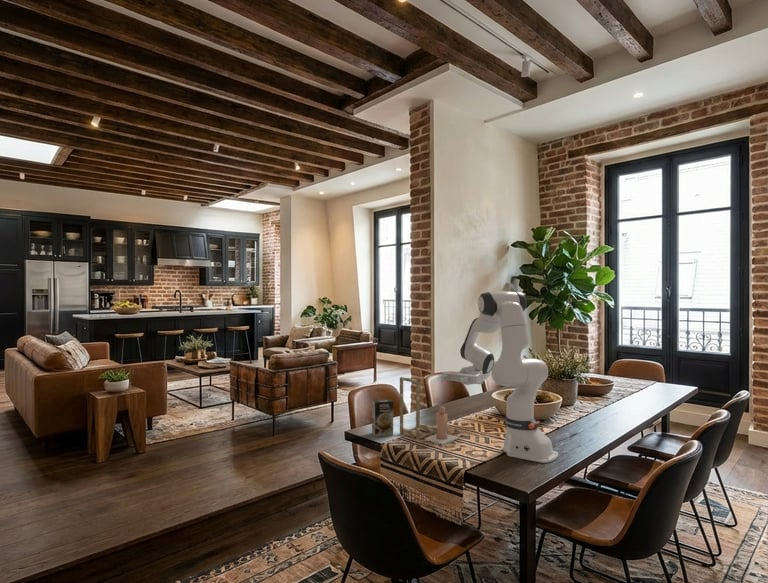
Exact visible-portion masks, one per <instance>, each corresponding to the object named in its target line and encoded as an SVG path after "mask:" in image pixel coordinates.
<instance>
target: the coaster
mask: <svg viewBox="0 0 768 583" xmlns="http://www.w3.org/2000/svg"><path fill="white" fill-rule="evenodd" d="M458 439H459V437H458V436H455V435H452V434H450V433H447V439H437V438H436V433H434V434H432V435H429V436H426V437H424V441H426V440H427V442H430V441H431V443H433V442H434V444H437V443H438V444H437V445H440V444H441V445H440V446H444V444H445V445H447V444H449V443H451V442H454V441H457V440H458Z"/></svg>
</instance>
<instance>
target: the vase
mask: <svg viewBox="0 0 768 583" xmlns="http://www.w3.org/2000/svg"><path fill="white" fill-rule="evenodd" d="M438 408H439V409H438V412H436V433H435V434H436V438H437V439H447V434H448V422H449V421H448V413H447V412H446V407H445V406H443V405H442V406H439V407H438Z"/></svg>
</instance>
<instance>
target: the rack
mask: <svg viewBox="0 0 768 583" xmlns="http://www.w3.org/2000/svg"><path fill="white" fill-rule="evenodd" d="M404 382H410V383H415V427H412V428H404ZM420 383H421V381H420V379H416V378H409V377H404V376H399V435H400V436H401V435H405V436H409V437H411V438H412V437H413V438H415V437H416V438H415V439H416V440H420V438H421V439H422V438H427V437H429V436H432V435H435V434H436V427H435V426H431V425H429V424H424V423H421V422H420V421H421V420H420V419H421V418H420V415H421V414H420V413H421V407H420V406H421V404H420V402H421V401H420V400H421V398H420V397H421V396H420V395H421V393H420V392H421V390H420V388H421V384H420ZM420 430H422V431H424V432H425V431H426V432H427V433H424V434H422V432H421V431H420Z"/></svg>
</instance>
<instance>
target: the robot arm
mask: <svg viewBox="0 0 768 583" xmlns="http://www.w3.org/2000/svg"><path fill="white" fill-rule="evenodd" d="M527 304H528V303H527V297H526V296H525V294H524V293H523V292H520V291H516V290H514V291H503V290H498V291H491V292H490V291H486V292H483V293H481V294H480V295H479V297H478V299H477V306H478V310H479V315H478V317H477V318H475V319H473V320H472V322H471V324H470V325H469V328H468V331H467V333H466V336H465V339H464V342H463V343H462V345H461V347H460V351H459V352H460V356H461V359H463V360H466V361H468V362H470V363H471V364H472V365H470V366H465V367H462V368H461V369H460V370H459V371H453V370H451V371H450V370H449V371H443V372H442V374H441V379H442V380H443V381H451V382H452V381H453V382H459V383H462V384H463V385H465V386H469V385H483V382H484V381H485V380H487V379H489V377H490V376H491V378H492V380H493V381H494V383H495V384H496V385H498V386H505V387H515V389H514V390H513V391H512V393H511V394H509V395H508V396H507V398H506V416H505V422H504V423H505V424H504V425H505V426H504V427H505V436H504V443H503V445H502V451H503V452H505V453H506V456H508V457H511V458H512V457H513V458H517V459H522V460H527V461H533V462H538V463H541V464H546V463H551V462H553V461H555V460H556V459H558V458H559V452H558V451H555V450H553V444H552V440H551V439H550V438H549V437H548V436H547V435H546V434H545V433H544V432H543V431H541V429H539V427H538V425H540V420H536V419H535V418H534V408H535V400H536V396H537V393H538V392H539V391H538V390H539V389H540V387H541V385H543V383H544V382H545V381H546V380H547V378H548V377H549V368H548V365H547V363H546V362H545V361H544V360H542V359H538V358H522V352H523V350H524V349H526V348H527V347H528V346H529V344H530V338H529V333H528V332H529V331H528V325H527V320H526V316H525V310H526V309H527ZM499 329H500V335H501V344H502V345H501V352H500V354H499V357H498V360H496V361H495V356H494V354H493V353H491V351H488V350H487V349H485V348H483V347H481V346H480V345H478V344H477V342H476V340H477V337H478V334H479V333H482V334H492V333H495V332H497V331H498V330H499Z"/></svg>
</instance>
